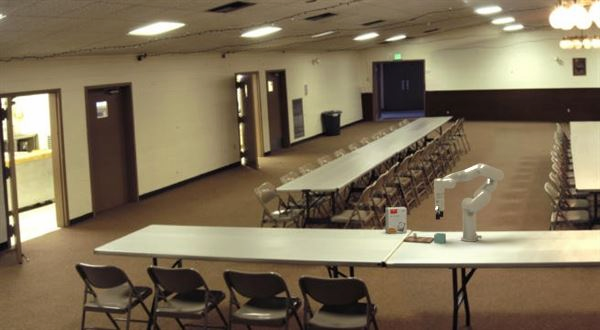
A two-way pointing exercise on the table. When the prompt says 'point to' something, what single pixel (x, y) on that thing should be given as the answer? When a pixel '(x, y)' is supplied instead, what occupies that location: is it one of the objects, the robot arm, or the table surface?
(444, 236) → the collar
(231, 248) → the table surface
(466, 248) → the table surface
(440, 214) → the robot arm
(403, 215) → the hard drive box
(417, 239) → the base board
